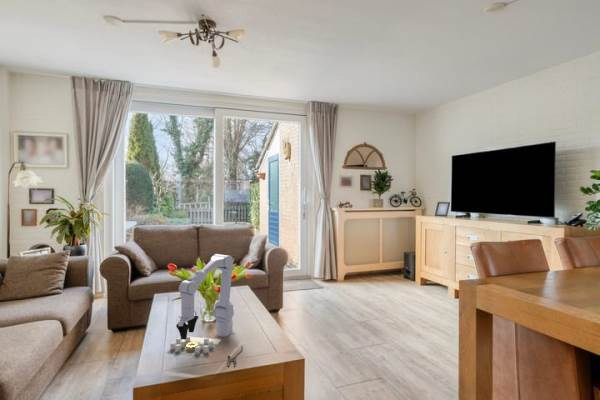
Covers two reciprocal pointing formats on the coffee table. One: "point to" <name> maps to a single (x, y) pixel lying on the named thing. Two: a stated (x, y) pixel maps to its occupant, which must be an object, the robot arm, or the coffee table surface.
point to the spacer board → (201, 350)
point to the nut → (191, 346)
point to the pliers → (233, 358)
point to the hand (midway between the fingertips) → (187, 335)
